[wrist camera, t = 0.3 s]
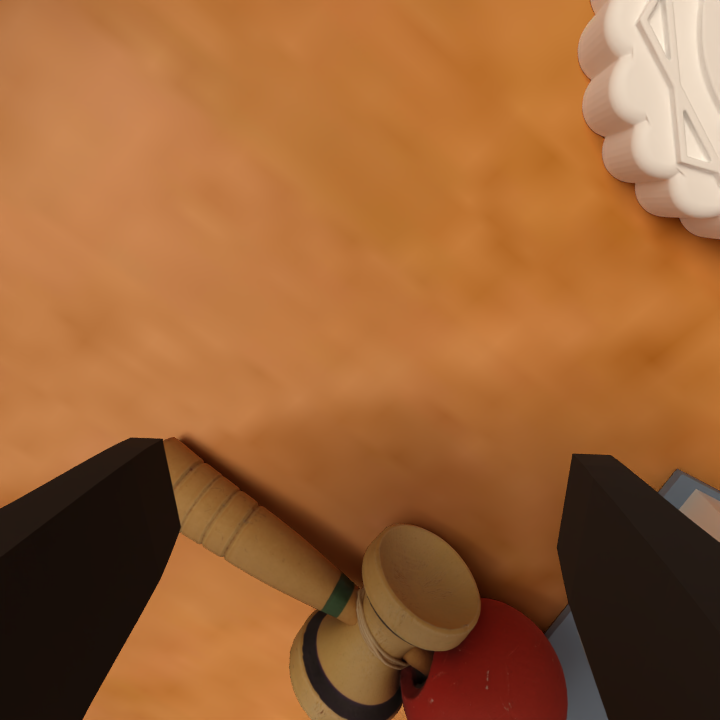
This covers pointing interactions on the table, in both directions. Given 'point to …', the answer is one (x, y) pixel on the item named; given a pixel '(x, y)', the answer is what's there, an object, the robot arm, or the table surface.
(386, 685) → the kendama
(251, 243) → the table surface
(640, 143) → the mooncake
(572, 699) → the mat
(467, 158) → the table surface
